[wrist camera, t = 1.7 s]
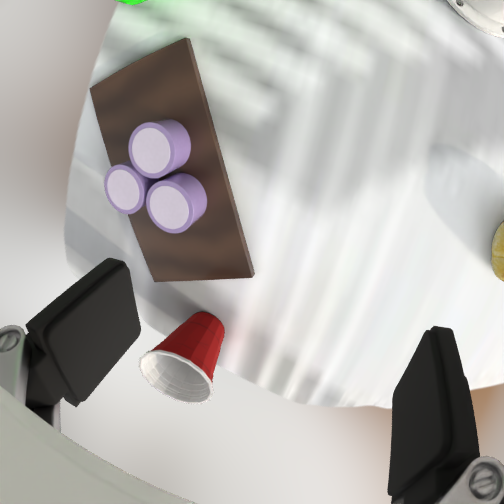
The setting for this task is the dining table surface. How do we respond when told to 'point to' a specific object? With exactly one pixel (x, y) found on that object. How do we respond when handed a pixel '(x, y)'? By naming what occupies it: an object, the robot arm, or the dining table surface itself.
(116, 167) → the lavender cylinder puck
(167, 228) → the lavender round puck
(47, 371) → the robot arm
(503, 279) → the bread roll
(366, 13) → the dining table surface
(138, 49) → the dining table surface
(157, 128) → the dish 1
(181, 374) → the plastic cup
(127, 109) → the board
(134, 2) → the plastic bottle
